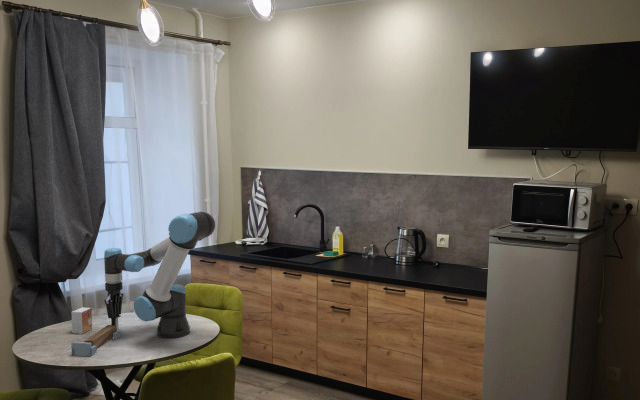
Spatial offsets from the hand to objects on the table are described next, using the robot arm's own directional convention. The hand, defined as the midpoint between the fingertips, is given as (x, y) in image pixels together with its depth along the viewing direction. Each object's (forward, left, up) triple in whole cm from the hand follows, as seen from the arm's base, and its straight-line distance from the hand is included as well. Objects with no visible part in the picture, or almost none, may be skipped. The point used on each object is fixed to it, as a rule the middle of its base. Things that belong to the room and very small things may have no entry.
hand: (115, 331), depth 262 cm
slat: (0, +12, -2) cm, 12 cm away
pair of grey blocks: (0, +6, -2) cm, 6 cm away
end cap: (0, +26, -2) cm, 26 cm away
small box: (+18, -2, -2) cm, 18 cm away
